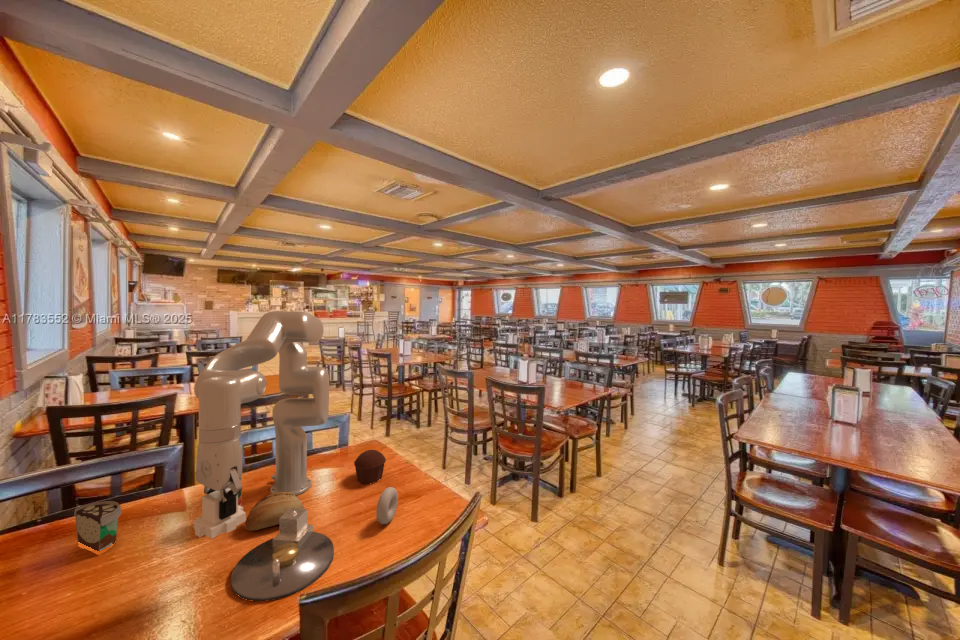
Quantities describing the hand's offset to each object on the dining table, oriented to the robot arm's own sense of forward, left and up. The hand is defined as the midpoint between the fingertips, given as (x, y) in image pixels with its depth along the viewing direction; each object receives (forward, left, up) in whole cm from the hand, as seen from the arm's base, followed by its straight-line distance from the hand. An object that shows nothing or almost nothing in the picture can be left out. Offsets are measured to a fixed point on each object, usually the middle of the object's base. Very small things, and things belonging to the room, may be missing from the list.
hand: (220, 512), depth 79 cm
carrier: (+7, +11, -17) cm, 22 cm away
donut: (+18, +36, -18) cm, 44 cm away
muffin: (-5, +54, -18) cm, 57 cm away
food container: (-42, -5, -18) cm, 46 cm away
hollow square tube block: (0, 0, -3) cm, 3 cm away
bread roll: (-11, +21, -18) cm, 30 cm away
